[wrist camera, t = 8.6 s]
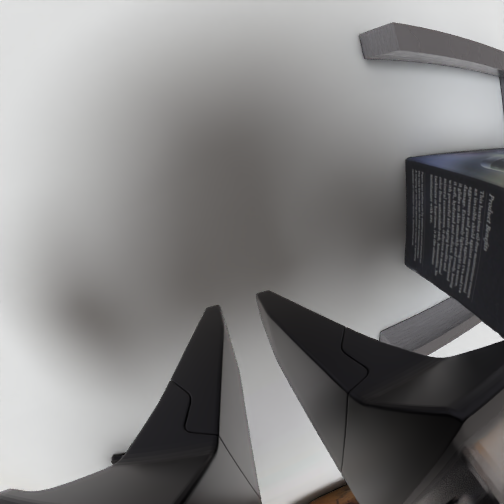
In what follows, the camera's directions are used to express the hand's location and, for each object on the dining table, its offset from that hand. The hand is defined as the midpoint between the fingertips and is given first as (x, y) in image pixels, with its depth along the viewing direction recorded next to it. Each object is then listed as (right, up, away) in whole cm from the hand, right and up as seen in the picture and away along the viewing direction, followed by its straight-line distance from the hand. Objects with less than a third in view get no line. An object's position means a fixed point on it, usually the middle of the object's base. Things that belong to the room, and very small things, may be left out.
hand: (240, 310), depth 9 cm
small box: (+13, +5, +6) cm, 15 cm away
